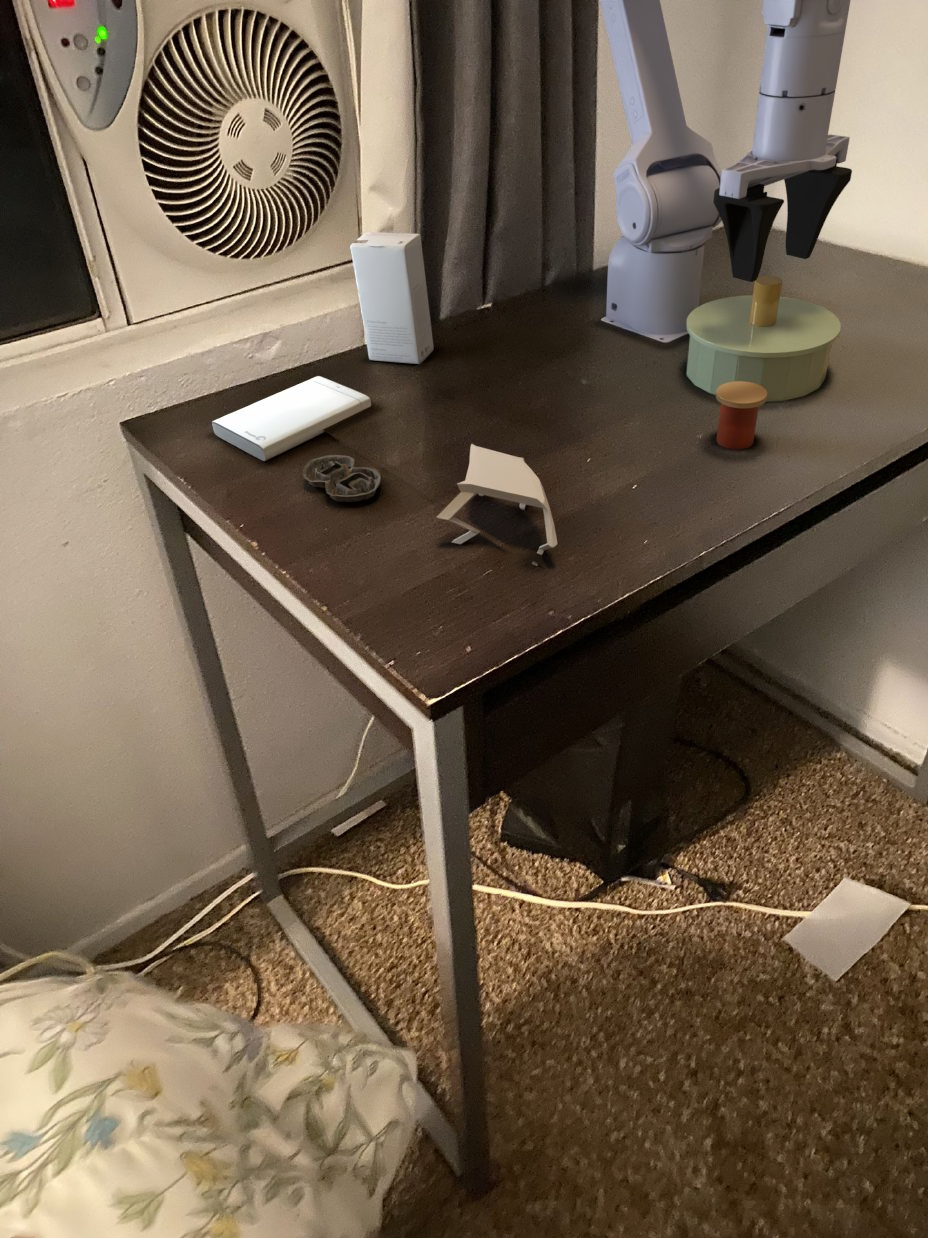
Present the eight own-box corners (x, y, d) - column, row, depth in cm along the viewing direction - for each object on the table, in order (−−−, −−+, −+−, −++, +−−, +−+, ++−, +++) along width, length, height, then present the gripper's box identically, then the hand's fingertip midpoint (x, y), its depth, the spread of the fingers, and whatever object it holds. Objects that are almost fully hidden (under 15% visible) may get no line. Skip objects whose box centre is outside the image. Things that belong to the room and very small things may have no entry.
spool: (699, 446, 77) (706, 392, 74) (729, 430, 79) (737, 376, 76) (738, 463, 74) (746, 407, 71) (768, 446, 76) (777, 391, 73)
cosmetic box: (435, 349, 96) (424, 231, 88) (419, 367, 93) (407, 245, 85) (382, 345, 98) (367, 228, 90) (365, 362, 95) (348, 242, 87)
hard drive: (262, 447, 78) (370, 395, 85) (210, 419, 83) (316, 372, 90) (266, 463, 80) (372, 411, 86) (214, 436, 84) (319, 388, 91)
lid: (655, 335, 85) (658, 283, 82) (746, 295, 91) (753, 245, 88) (777, 378, 76) (787, 321, 73) (869, 331, 83) (881, 276, 79)
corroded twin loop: (336, 457, 79) (335, 447, 78) (396, 488, 74) (395, 477, 74) (290, 480, 77) (288, 470, 76) (349, 514, 72) (347, 502, 71)
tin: (658, 378, 87) (661, 329, 84) (741, 339, 93) (748, 291, 90) (767, 421, 80) (775, 368, 76) (851, 375, 85) (862, 324, 82)
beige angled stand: (412, 530, 70) (405, 475, 67) (486, 486, 74) (483, 432, 71) (529, 592, 63) (528, 533, 60) (603, 539, 67) (606, 481, 64)
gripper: (783, 112, 65) (758, 300, 74) (895, 79, 72) (860, 255, 80) (706, 103, 70) (690, 281, 78) (817, 73, 76) (792, 240, 85)
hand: (771, 267), depth 80 cm, fingers open, 7 cm apart
